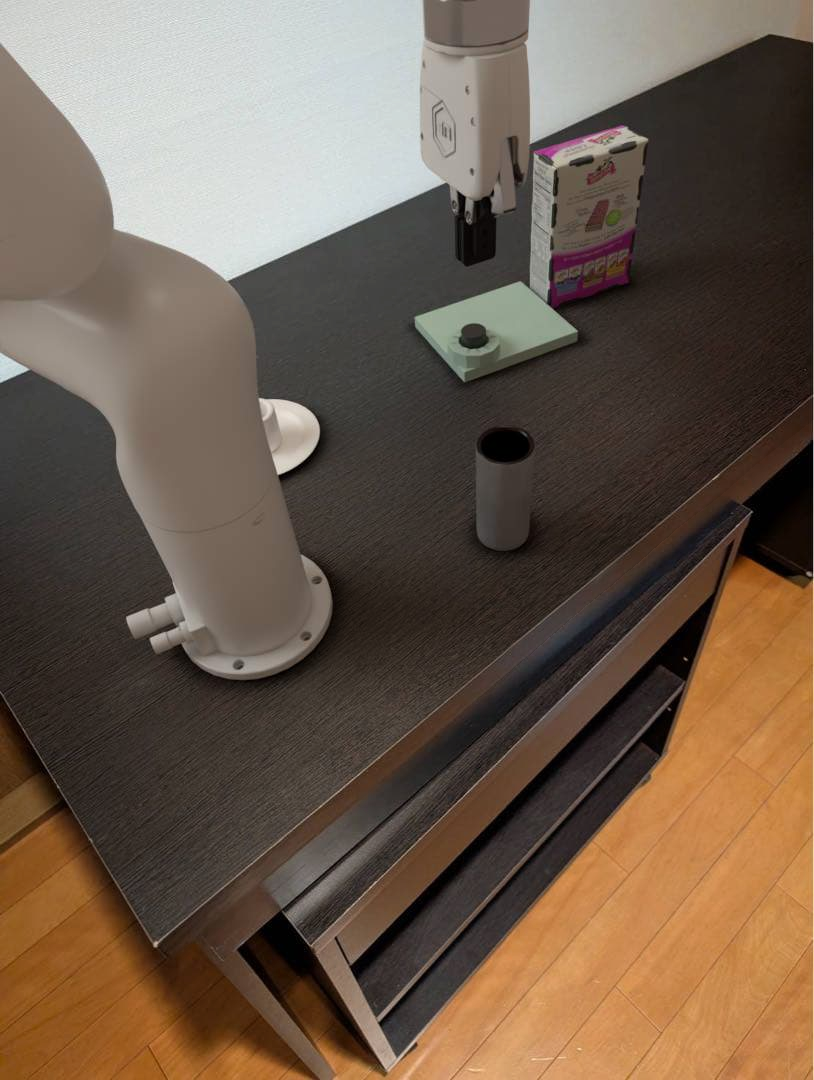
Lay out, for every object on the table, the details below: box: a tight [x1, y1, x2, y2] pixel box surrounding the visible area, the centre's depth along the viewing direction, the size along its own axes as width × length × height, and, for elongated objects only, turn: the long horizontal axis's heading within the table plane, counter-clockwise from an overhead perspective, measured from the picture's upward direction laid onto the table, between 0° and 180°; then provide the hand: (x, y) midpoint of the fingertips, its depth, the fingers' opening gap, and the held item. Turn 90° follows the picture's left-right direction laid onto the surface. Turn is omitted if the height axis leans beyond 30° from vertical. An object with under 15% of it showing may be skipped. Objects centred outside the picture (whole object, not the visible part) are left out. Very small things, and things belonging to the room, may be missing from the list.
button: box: [461, 323, 486, 349], centre depth 80 cm, size 3×3×2 cm
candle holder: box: [259, 397, 321, 476], centre depth 75 cm, size 12×12×4 cm
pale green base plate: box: [414, 280, 579, 383], centre depth 84 cm, size 14×12×3 cm
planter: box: [475, 424, 536, 552], centre depth 62 cm, size 4×4×10 cm
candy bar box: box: [528, 125, 649, 310], centre depth 84 cm, size 11×5×16 cm, turn 114°
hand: (475, 258), depth 68 cm, fingers closed
